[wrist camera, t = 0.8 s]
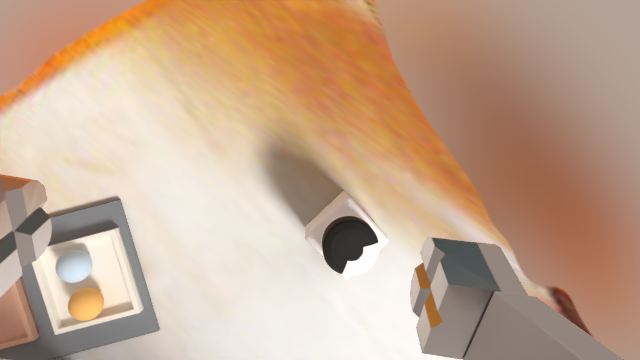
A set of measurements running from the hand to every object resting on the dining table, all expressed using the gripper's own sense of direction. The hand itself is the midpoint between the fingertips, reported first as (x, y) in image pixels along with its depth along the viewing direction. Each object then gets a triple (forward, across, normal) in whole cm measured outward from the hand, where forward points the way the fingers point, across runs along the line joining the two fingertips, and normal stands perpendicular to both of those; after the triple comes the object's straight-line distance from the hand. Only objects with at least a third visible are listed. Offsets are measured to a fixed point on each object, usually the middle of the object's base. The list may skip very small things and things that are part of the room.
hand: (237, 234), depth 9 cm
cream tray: (+35, -24, -36) cm, 55 cm away
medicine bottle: (+40, +8, -26) cm, 48 cm away
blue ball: (+34, -25, -33) cm, 53 cm away
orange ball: (+32, -23, -37) cm, 54 cm away
